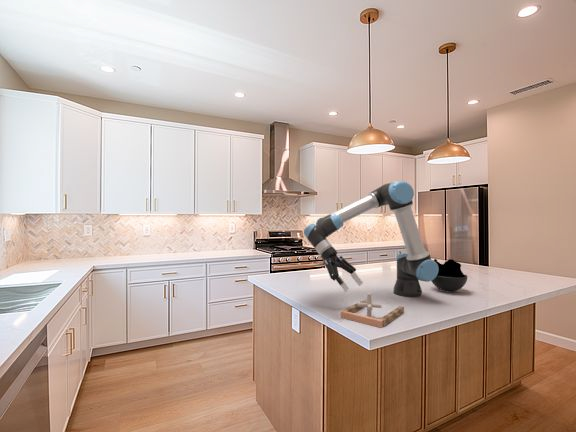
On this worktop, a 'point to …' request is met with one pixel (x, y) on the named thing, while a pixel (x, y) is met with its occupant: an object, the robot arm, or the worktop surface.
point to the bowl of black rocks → (449, 276)
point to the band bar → (362, 319)
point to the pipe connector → (369, 304)
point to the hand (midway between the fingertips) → (354, 287)
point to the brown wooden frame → (386, 318)
